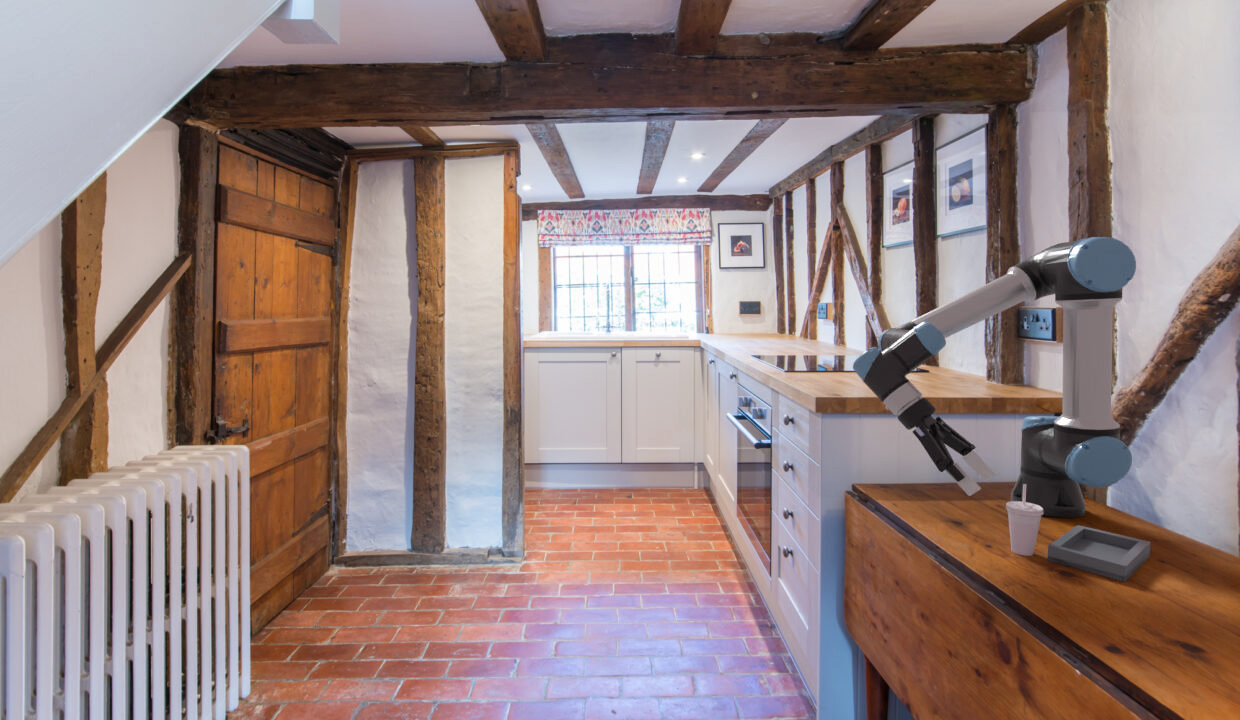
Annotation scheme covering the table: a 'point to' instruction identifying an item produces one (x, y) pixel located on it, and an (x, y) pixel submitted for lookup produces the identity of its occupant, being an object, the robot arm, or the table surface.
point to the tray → (1099, 552)
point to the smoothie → (1023, 525)
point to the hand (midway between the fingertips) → (983, 485)
